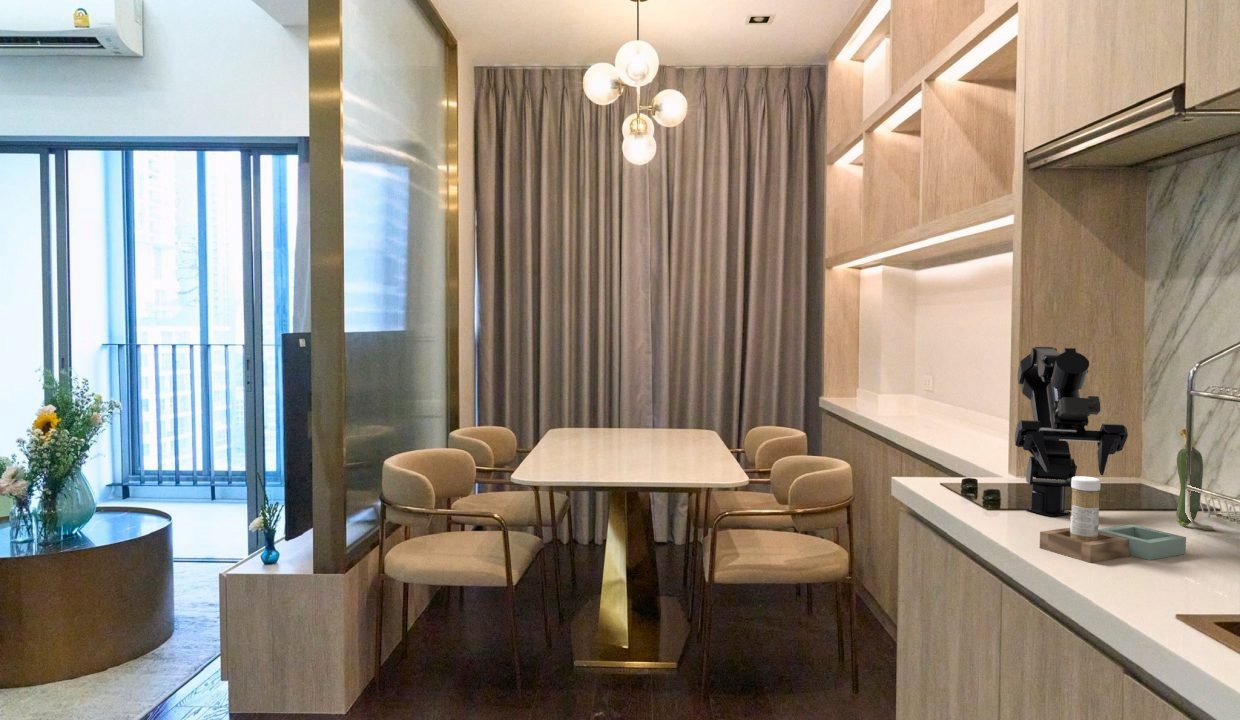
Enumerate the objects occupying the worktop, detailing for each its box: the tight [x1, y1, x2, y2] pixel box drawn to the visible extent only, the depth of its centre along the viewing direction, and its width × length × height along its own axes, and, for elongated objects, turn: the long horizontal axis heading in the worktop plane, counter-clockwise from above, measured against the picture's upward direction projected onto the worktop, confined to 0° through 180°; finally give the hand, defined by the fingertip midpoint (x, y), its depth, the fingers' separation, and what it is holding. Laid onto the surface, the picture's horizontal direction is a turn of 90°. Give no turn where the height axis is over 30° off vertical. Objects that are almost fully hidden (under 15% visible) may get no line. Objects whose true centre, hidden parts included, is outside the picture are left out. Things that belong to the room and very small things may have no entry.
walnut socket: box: [1039, 527, 1130, 563], centre depth 150 cm, size 10×10×3 cm
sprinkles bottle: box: [1069, 475, 1101, 542], centre depth 150 cm, size 5×5×13 cm
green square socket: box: [1098, 524, 1187, 561], centre depth 152 cm, size 10×10×3 cm
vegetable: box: [1175, 428, 1204, 528], centre depth 168 cm, size 4×4×20 cm
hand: (1074, 472), depth 156 cm, fingers open, 9 cm apart
